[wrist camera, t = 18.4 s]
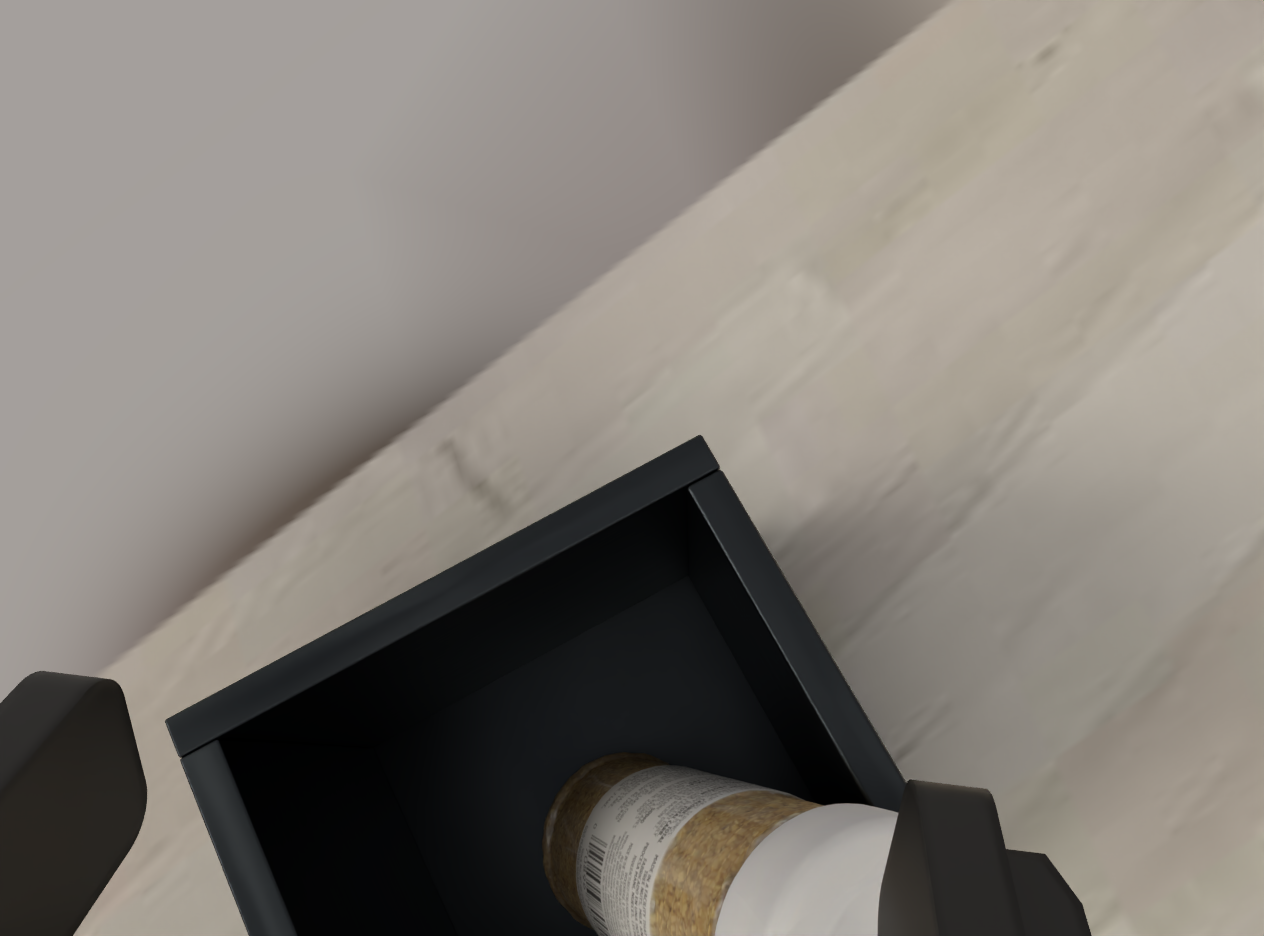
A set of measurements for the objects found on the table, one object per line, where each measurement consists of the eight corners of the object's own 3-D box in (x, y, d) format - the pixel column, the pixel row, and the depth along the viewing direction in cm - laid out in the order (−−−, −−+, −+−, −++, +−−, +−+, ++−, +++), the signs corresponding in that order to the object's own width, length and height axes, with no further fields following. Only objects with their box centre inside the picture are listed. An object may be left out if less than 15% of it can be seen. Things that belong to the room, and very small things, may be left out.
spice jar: (693, 933, 28) (1040, 1162, 15) (524, 927, 26) (750, 1171, 14) (709, 754, 29) (1047, 829, 16) (547, 739, 27) (777, 807, 15)
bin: (341, 735, 30) (162, 720, 20) (698, 542, 31) (701, 433, 21) (523, 1149, 27) (420, 1378, 17) (913, 919, 28) (1039, 1006, 18)
